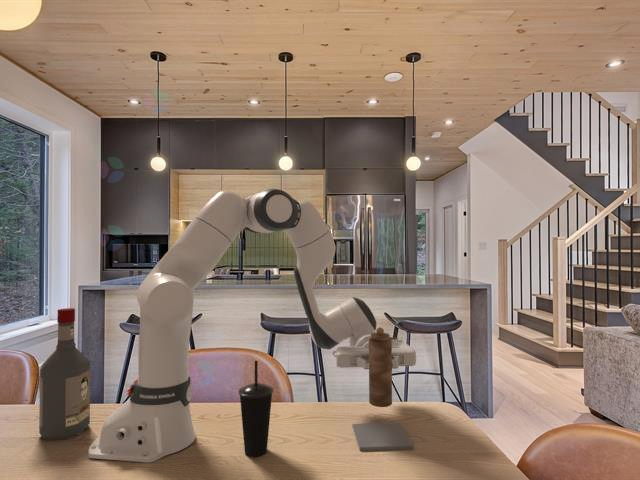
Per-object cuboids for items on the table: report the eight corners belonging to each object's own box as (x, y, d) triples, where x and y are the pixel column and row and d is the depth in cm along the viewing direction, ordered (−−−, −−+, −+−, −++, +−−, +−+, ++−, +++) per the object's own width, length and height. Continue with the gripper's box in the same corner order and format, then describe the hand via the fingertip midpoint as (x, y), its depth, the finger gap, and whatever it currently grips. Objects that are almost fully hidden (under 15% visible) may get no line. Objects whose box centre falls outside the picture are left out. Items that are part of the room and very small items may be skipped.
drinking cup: (266, 462, 85) (266, 367, 85) (232, 458, 87) (232, 364, 87) (277, 445, 93) (277, 357, 93) (246, 442, 94) (246, 355, 94)
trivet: (359, 450, 90) (359, 447, 90) (352, 427, 102) (352, 423, 102) (413, 449, 91) (412, 445, 91) (399, 425, 103) (399, 422, 103)
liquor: (33, 440, 95) (35, 312, 96) (57, 423, 104) (58, 306, 105) (73, 439, 95) (74, 312, 96) (93, 423, 105) (94, 306, 105)
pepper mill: (371, 407, 94) (371, 330, 94) (367, 398, 99) (366, 325, 99) (394, 406, 94) (394, 329, 94) (389, 397, 100) (388, 324, 100)
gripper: (332, 339, 109) (337, 353, 95) (406, 338, 110) (422, 351, 96) (332, 363, 109) (337, 380, 95) (407, 361, 110) (423, 377, 96)
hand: (381, 365), depth 96 cm, fingers closed on pepper mill, 5 cm apart
